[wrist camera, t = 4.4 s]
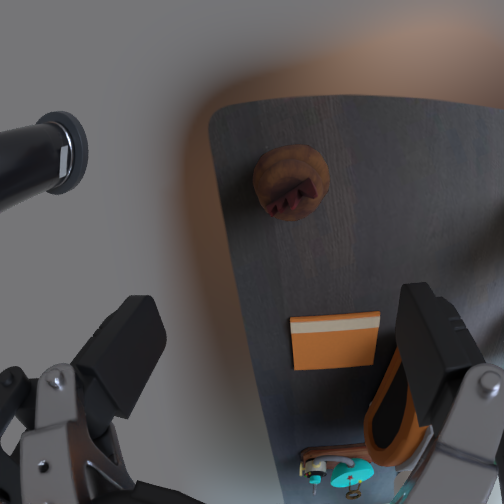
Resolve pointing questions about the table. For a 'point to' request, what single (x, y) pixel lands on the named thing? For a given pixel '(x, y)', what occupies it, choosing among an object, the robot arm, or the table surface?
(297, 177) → the wooden figurine
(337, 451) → the contraption on wooden base
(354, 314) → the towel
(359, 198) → the table surface
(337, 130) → the table surface
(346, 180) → the table surface
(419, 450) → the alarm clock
